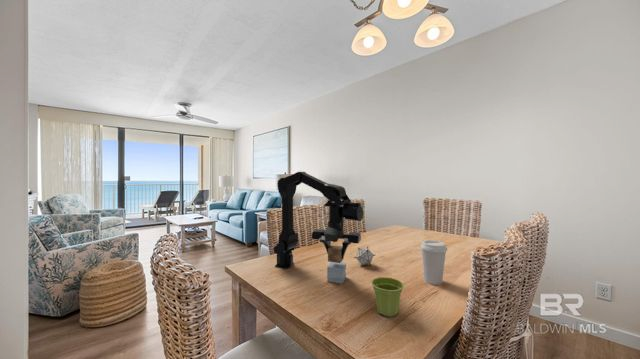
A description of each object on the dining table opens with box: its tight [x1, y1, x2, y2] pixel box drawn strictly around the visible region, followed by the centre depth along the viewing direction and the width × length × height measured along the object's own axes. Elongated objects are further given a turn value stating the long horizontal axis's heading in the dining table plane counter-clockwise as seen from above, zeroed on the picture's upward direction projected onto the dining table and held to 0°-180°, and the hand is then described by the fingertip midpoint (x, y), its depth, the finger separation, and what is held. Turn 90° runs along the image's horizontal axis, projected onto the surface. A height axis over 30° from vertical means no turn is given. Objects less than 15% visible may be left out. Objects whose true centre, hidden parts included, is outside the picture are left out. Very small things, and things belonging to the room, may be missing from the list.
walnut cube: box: [327, 244, 345, 263], centre depth 100 cm, size 5×5×5 cm
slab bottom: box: [326, 272, 347, 284], centre depth 100 cm, size 6×6×2 cm
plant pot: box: [371, 276, 405, 317], centre depth 77 cm, size 9×9×9 cm
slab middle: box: [326, 268, 347, 279], centre depth 100 cm, size 6×6×2 cm
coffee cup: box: [419, 239, 448, 286], centre depth 98 cm, size 10×10×15 cm
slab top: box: [326, 262, 347, 274], centre depth 100 cm, size 6×6×2 cm
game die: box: [353, 246, 376, 267], centre depth 115 cm, size 9×8×10 cm
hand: (336, 257), depth 100 cm, fingers closed on walnut cube, 5 cm apart
